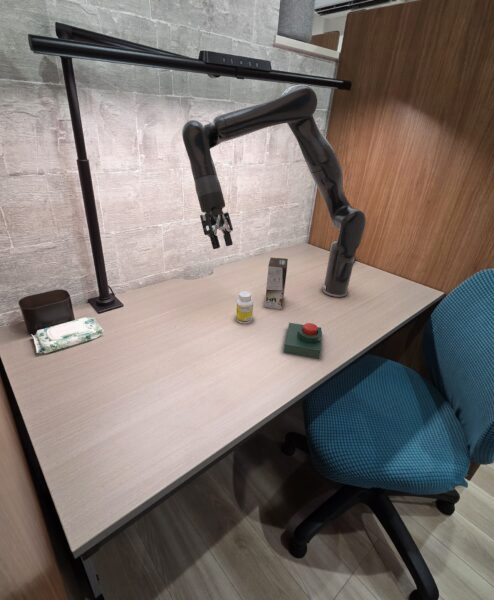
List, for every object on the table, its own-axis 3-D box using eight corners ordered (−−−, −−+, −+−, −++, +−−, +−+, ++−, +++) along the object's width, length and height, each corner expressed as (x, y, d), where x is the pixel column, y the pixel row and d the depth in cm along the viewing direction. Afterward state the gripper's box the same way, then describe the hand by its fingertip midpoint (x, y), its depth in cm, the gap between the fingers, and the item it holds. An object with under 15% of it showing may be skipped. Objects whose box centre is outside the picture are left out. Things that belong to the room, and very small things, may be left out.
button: (303, 327, 95) (304, 322, 94) (316, 329, 94) (317, 324, 93) (302, 334, 91) (303, 329, 90) (316, 336, 90) (317, 331, 90)
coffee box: (282, 309, 113) (287, 267, 105) (264, 307, 114) (267, 265, 106) (283, 297, 121) (288, 258, 113) (267, 295, 122) (270, 256, 114)
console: (288, 330, 101) (289, 317, 99) (319, 335, 99) (322, 322, 97) (283, 352, 91) (285, 338, 89) (318, 359, 89) (321, 344, 87)
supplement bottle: (238, 314, 109) (239, 289, 104) (253, 317, 108) (255, 291, 103) (234, 322, 104) (235, 296, 100) (250, 325, 103) (251, 299, 98)
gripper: (208, 188, 87) (223, 246, 89) (230, 191, 99) (243, 242, 102) (186, 197, 90) (201, 252, 93) (211, 198, 102) (223, 247, 105)
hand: (223, 247), depth 97 cm, fingers open, 8 cm apart
